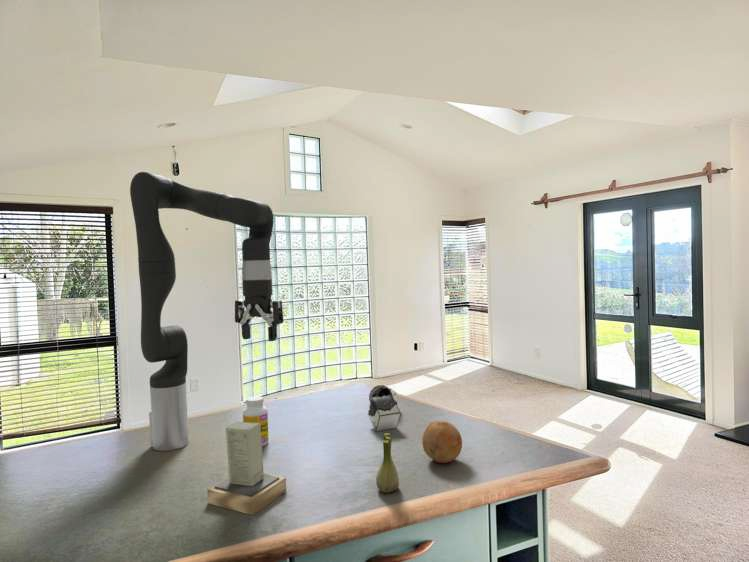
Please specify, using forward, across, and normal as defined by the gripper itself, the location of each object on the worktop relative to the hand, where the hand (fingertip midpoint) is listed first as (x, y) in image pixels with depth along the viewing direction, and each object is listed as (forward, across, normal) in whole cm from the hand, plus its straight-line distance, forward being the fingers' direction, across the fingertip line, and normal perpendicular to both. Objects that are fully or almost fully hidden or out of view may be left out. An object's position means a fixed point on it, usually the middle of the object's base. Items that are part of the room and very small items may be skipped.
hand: (259, 339), depth 128 cm
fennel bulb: (+30, +39, -6) cm, 50 cm away
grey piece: (+30, +18, +36) cm, 51 cm away
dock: (+30, +13, -21) cm, 39 cm away
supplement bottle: (+30, -6, +4) cm, 31 cm away
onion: (+30, +45, +13) cm, 56 cm away
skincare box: (+27, +13, -21) cm, 36 cm away
